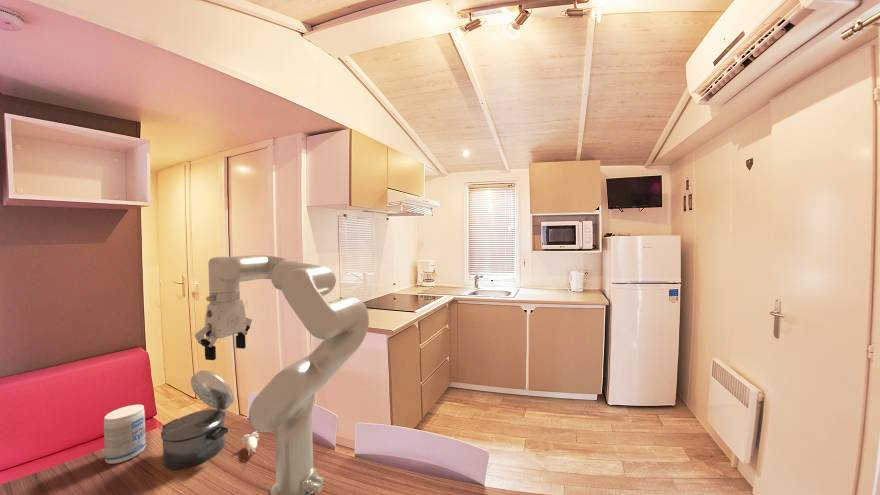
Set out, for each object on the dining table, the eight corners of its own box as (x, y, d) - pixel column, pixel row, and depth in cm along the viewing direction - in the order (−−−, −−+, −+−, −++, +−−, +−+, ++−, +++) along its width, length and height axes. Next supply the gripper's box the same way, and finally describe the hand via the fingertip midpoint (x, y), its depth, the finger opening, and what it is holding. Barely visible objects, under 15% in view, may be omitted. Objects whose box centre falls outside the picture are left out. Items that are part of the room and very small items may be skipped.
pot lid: (236, 412, 108) (243, 405, 110) (220, 375, 102) (228, 369, 105) (201, 406, 112) (209, 400, 115) (183, 371, 106) (192, 365, 109)
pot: (248, 439, 108) (247, 412, 108) (195, 477, 91) (194, 444, 91) (199, 430, 114) (198, 404, 114) (141, 464, 97) (140, 433, 97)
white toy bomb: (241, 446, 104) (240, 433, 104) (259, 440, 108) (258, 427, 108) (244, 466, 95) (244, 451, 95) (264, 459, 98) (263, 444, 98)
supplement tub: (141, 457, 100) (140, 413, 100) (99, 469, 95) (98, 423, 95) (149, 441, 108) (147, 400, 108) (110, 452, 103) (109, 409, 103)
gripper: (205, 303, 82) (207, 366, 83) (258, 293, 99) (260, 345, 99) (185, 302, 84) (186, 363, 84) (240, 292, 101) (242, 343, 101)
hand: (226, 353), depth 92 cm, fingers open, 9 cm apart
